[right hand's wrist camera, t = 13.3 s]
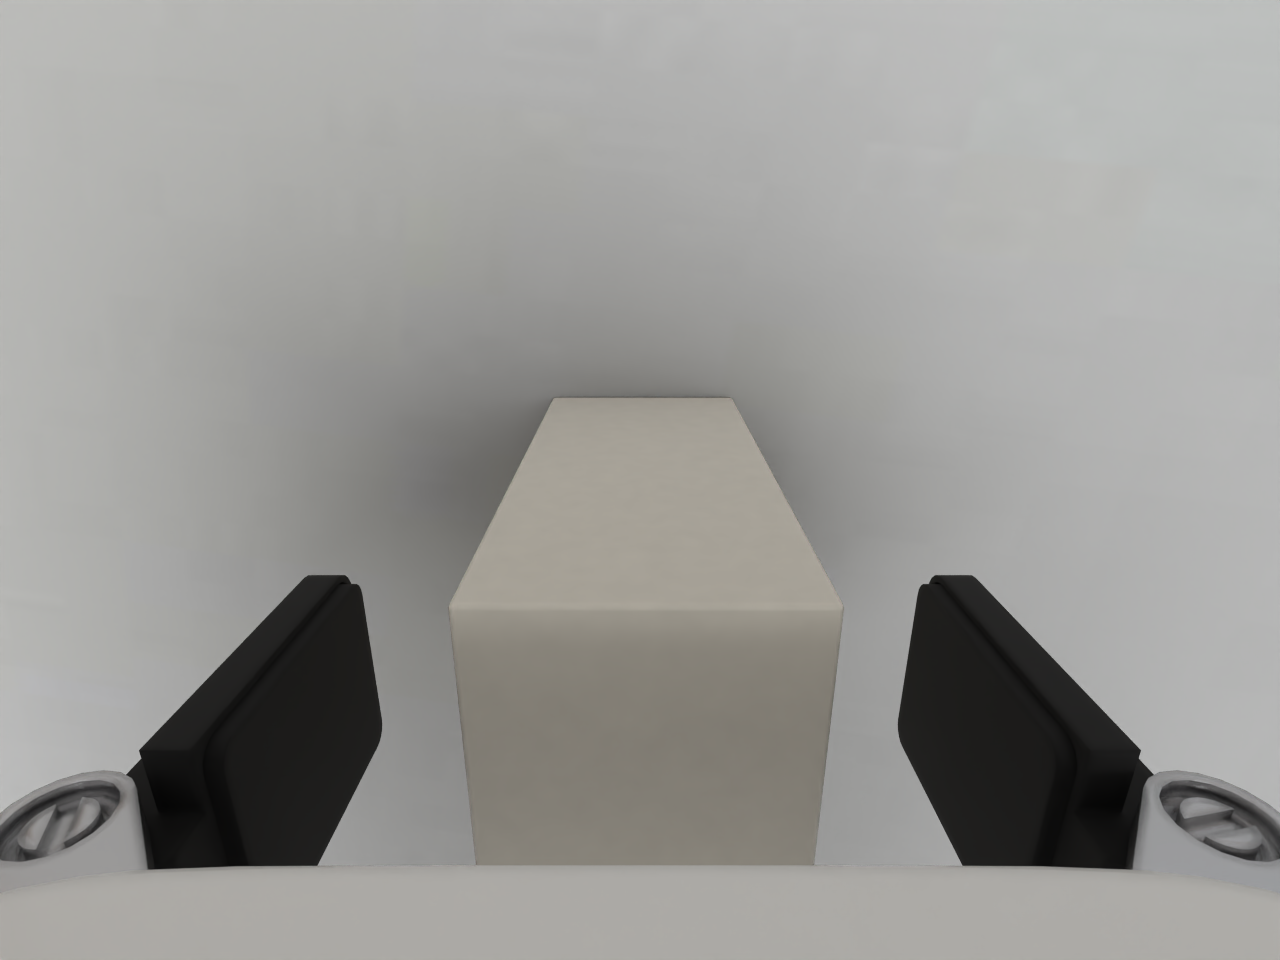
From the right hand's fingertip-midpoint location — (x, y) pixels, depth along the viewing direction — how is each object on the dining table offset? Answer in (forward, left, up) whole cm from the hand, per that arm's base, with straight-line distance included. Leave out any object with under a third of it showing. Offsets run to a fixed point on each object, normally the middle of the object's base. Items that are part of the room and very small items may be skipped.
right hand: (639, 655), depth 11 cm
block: (0, 0, -7) cm, 7 cm away
